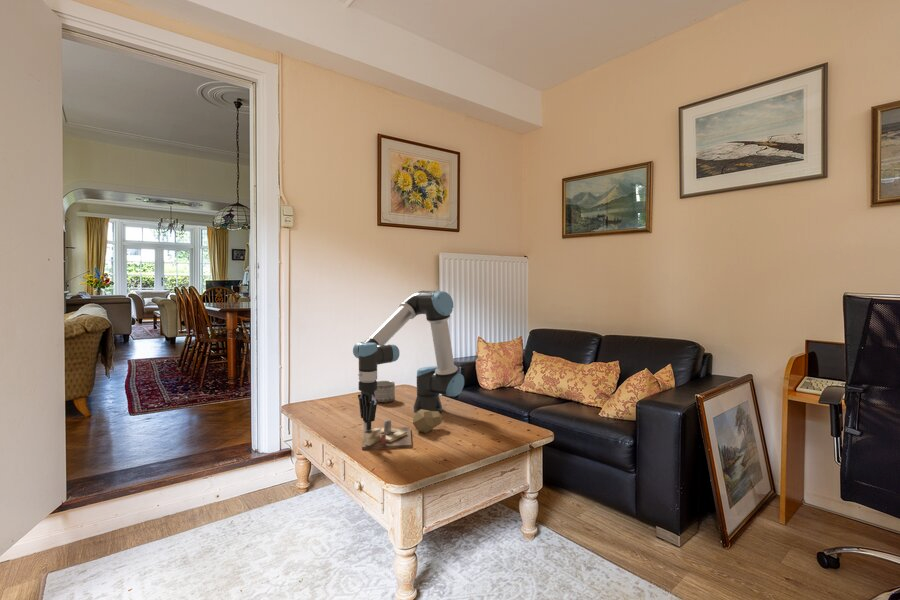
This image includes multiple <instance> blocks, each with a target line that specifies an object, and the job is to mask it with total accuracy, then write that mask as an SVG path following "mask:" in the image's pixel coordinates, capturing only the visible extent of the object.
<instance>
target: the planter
mask: <svg viewBox="0 0 900 600" xmlns="http://www.w3.org/2000/svg"><path fill="white" fill-rule="evenodd" d="M376 381H377V390H375V391H374V395H375V397H374V398H375V400H378V403H379V402H382V403H381V404H384V403H383V402H386V403H390V402H393V401H395V398H396V396H395V394H396V392H395V391H396V390H395V386H396V385H395V381H392V380H379V381H378V380H376Z"/></svg>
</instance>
